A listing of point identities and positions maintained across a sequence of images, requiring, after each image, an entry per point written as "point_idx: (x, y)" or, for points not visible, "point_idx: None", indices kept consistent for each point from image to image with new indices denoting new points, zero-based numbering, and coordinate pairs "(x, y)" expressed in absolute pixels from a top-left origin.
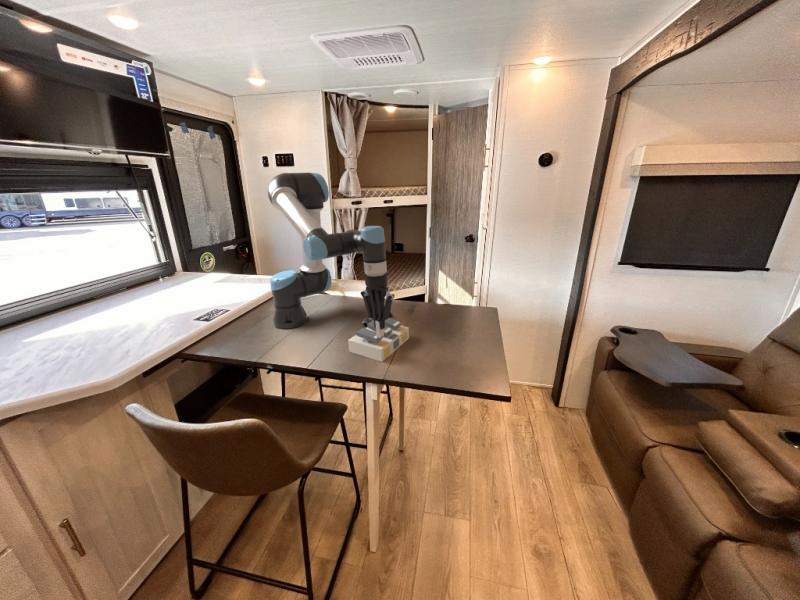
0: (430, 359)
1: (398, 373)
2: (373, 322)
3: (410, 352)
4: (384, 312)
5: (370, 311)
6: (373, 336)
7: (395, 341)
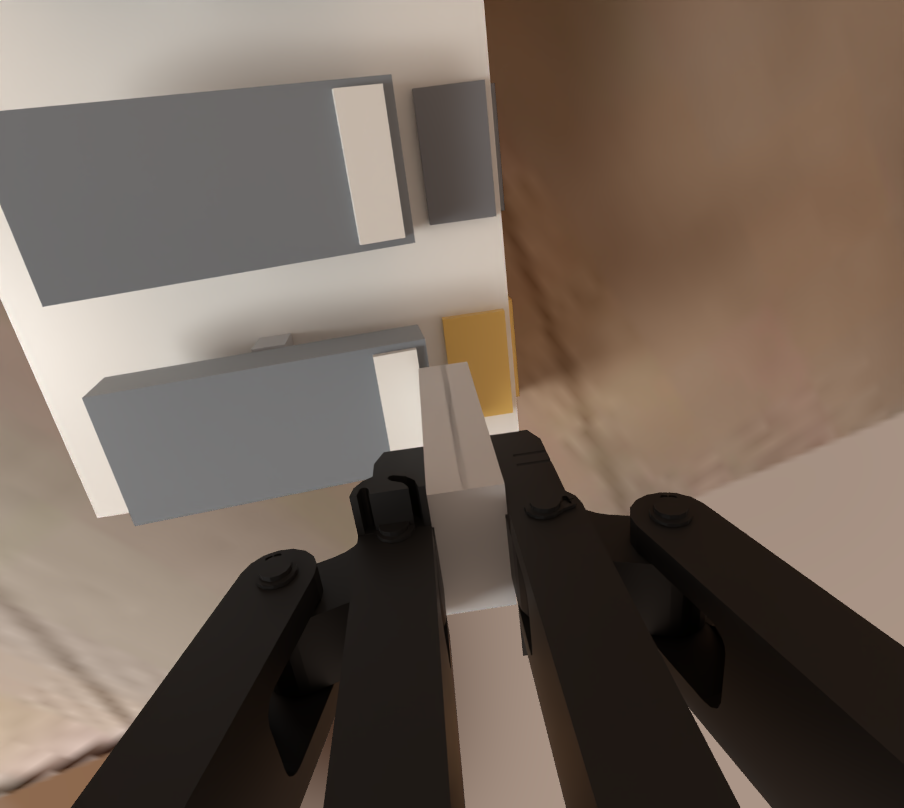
0: (847, 105)
1: (688, 430)
2: (46, 181)
3: (626, 111)
4: (772, 777)
5: (298, 773)
6: (373, 449)
7: (501, 178)
